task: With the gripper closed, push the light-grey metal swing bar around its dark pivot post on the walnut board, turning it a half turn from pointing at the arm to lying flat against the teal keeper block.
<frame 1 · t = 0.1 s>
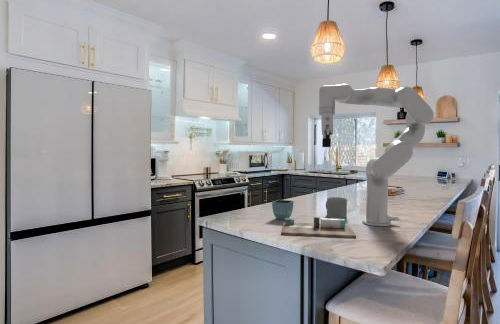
hand: (326, 147, 153), 37 cm above the worktop, tool pointing down, fingers open, 9 cm apart
walnut board: (316, 230, 138), on the worktop
flower pot: (282, 219, 161), on the worktop
swing bar: (332, 223, 139), point 3 cm above the worktop, hinge at 0.0°
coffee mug: (335, 217, 166), on the worktop
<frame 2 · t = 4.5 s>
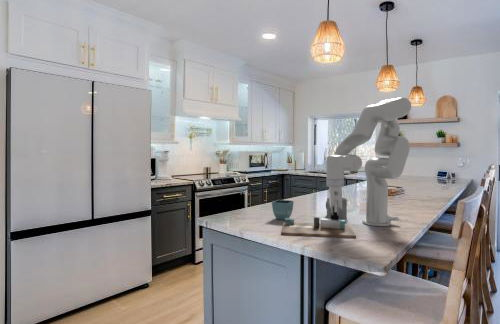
hand: (334, 223, 141), 2 cm above the worktop, tool pointing down, fingers closed
swing bar: (332, 223, 138), point 3 cm above the worktop, hinge at 9.6°, touching gripper
everything else where it was.
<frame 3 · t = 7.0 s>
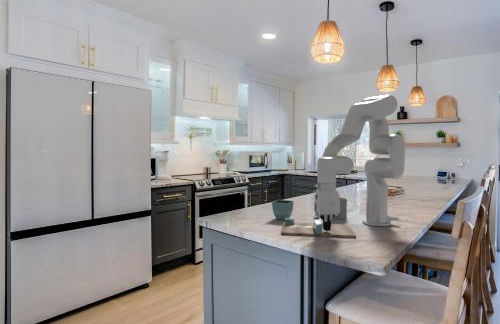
hand: (326, 230, 132), 2 cm above the worktop, tool pointing down, fingers closed
swing bar: (318, 226, 133), point 3 cm above the worktop, hinge at 88.3°, touching gripper
everything else where it was.
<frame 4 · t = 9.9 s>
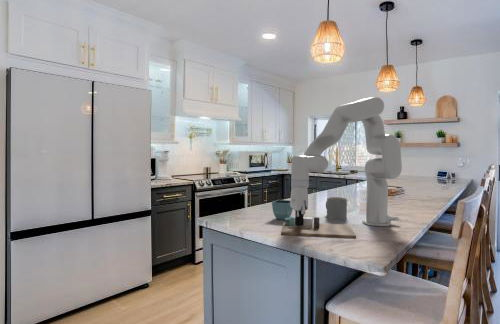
hand: (299, 225, 139), 2 cm above the worktop, tool pointing down, fingers closed
swing bar: (301, 221, 142), point 3 cm above the worktop, hinge at 186.0°, touching gripper, walnut board
everything else where it was.
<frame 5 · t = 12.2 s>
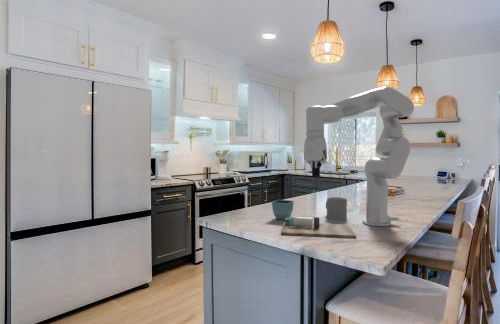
hand: (316, 176, 139), 24 cm above the worktop, tool pointing down, fingers closed
swing bar: (301, 221, 142), point 3 cm above the worktop, hinge at 186.0°, touching walnut board
everything else where it was.
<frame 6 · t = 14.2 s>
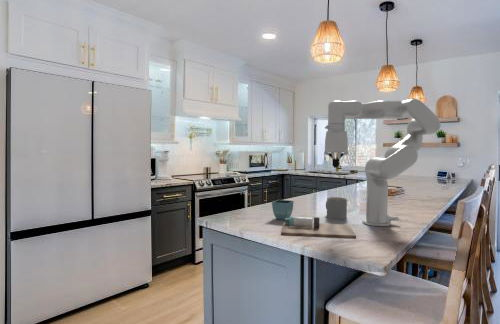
hand: (335, 167, 147), 27 cm above the worktop, tool pointing down, fingers closed
nothing on the worktop moved.
at the end: swing bar at +186° (first picture: +0°); the gripper is holding nothing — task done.
